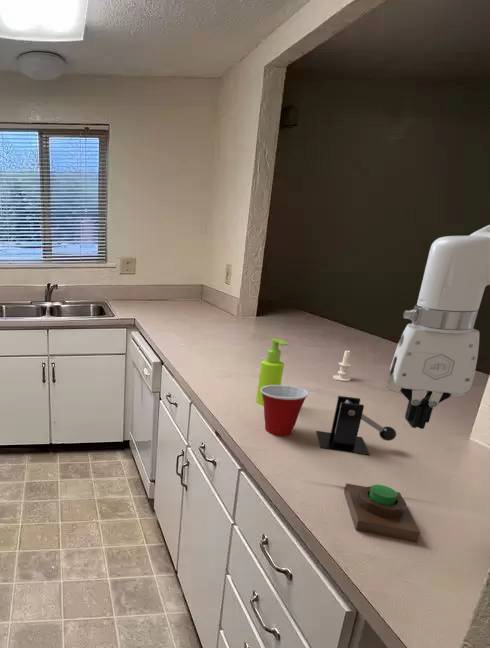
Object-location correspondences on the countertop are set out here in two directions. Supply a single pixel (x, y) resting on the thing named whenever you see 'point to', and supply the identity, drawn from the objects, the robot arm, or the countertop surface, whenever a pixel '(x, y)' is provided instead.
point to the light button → (383, 494)
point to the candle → (343, 368)
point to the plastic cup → (282, 407)
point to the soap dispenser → (271, 368)
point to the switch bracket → (345, 428)
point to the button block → (380, 515)
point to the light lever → (379, 427)
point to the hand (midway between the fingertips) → (415, 424)
